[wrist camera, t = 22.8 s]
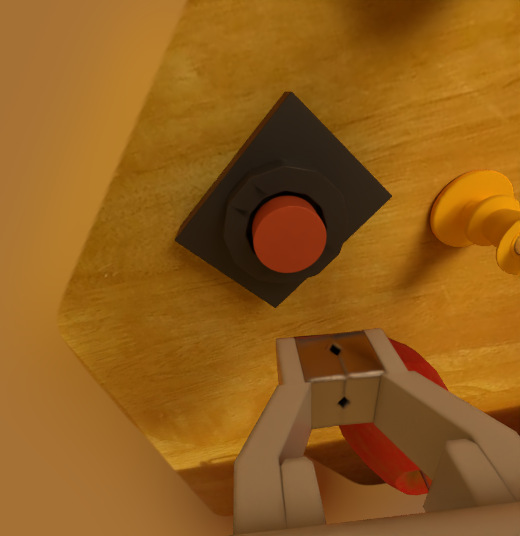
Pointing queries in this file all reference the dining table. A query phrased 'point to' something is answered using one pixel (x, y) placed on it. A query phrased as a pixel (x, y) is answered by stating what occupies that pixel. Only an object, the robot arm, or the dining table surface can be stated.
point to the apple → (382, 448)
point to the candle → (480, 216)
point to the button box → (279, 184)
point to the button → (288, 234)
